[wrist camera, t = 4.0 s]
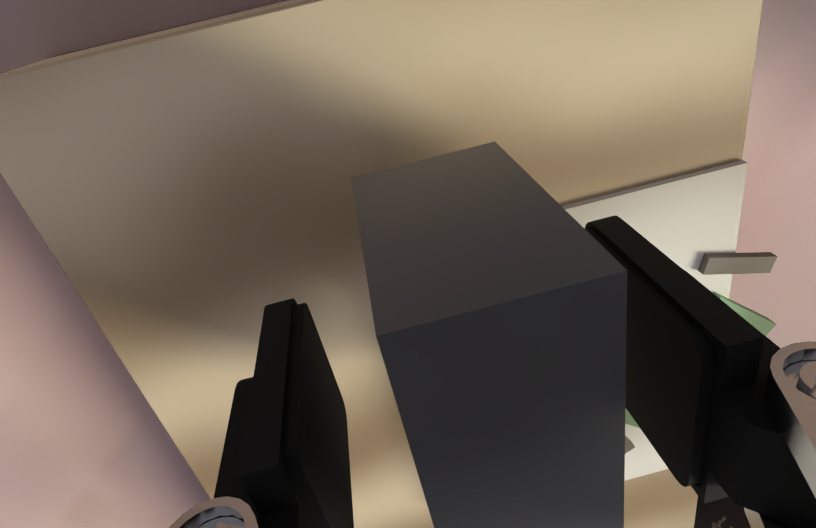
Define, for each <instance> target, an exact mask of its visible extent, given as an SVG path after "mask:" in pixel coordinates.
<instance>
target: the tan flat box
mask: <svg viewBox="0 0 816 528" xmlns="http://www.w3.org/2000/svg"><path fill="white" fill-rule="evenodd" d="M762 2H763V0H287V1H283V2H279V3H275V4H270V5H266V6H262V7H258V8H254V9H250V10H246V11H242V12H237V13H233V14H229V15H225V16H221V17H217V18H213V19H208V20H204V21H200V22H196V23H192V24H188V25H184V26H180V27H175V28H171V29H167V30H163V31H159V32H155V33H151V34H147V35H142V36H138V37H134V38H130V39H126V40H122V41H118V42H113V43H109V44H105V45H101V46H97V47H93V48H89V49H85V50H80V51H76V52H72V53H68V54H64V55H60V56H56V57H52V58H47V59H44V60H41V61H38V62H35V63H32V64H29V65H26V66H23V67H20V68H17V69H14V70H11V71H8V72H5V73H2V74H0V173H1V175H2V176H3V178H4V179H5V181H6V183H7V184H8V186H9V187H10V189H11V190H12V192H13V193H14V195H15V197H16V198H17V200H18V201H19V203H20V204H21V206H22V207H23V209H24V210H25V212H26V214H27V215H28V217H29V218H30V220H31V221H32V223H33V224H34V226H35V227H36V229H37V231H38V232H39V234H40V235H41V237H42V238H43V240H44V241H45V243H46V245H47V246H48V248H49V249H50V251H51V252H52V254H53V255H54V257H55V258H56V260H57V262H58V263H59V265H60V266H61V268H62V269H63V271H64V272H65V274H66V276H67V277H68V279H69V280H70V282H71V283H72V285H73V286H74V288H75V289H76V291H77V293H78V294H79V296H80V297H81V299H82V300H83V302H84V303H85V305H86V306H87V308H88V310H89V311H90V313H91V314H92V316H93V317H94V319H95V320H96V322H97V324H98V325H99V327H100V328H101V330H102V331H103V333H104V334H105V336H106V337H107V339H108V341H109V342H110V344H111V345H112V347H113V348H114V350H115V351H116V353H117V355H118V356H119V358H120V359H121V361H122V362H123V364H124V365H125V367H126V368H127V370H128V372H129V373H130V375H131V376H132V378H133V379H134V381H135V382H136V384H137V386H138V387H139V389H140V390H141V392H142V393H143V395H144V396H145V398H146V399H147V401H148V403H149V404H150V406H151V407H152V409H153V410H154V412H155V413H156V415H157V416H158V418H159V420H160V421H161V423H162V424H163V426H164V427H165V429H166V430H167V432H168V434H169V435H170V437H171V438H172V440H173V441H174V443H175V444H176V446H177V447H178V449H179V451H180V452H181V454H182V455H183V457H184V458H185V460H186V461H187V463H188V465H189V466H190V468H191V469H192V471H193V472H194V474H195V475H196V477H197V478H198V480H199V482H200V483H201V485H202V486H203V488H204V489H205V491H206V492H207V494H208V496H209V497H210V499H212V498H214V493H215V488H216V483H217V478H218V473H219V468H220V463H221V458H222V452H223V447H224V442H225V437H226V432H227V427H228V422H229V417H230V412H231V407H232V402H233V396H234V391H235V388H236V385H237V383H238V382H239V381H240V380H243V379H247V378H250V377H253V376H254V370H255V364H256V357H257V351H258V345H259V338H260V332H261V326H262V319H263V313H264V308H265V306H266V305H269V304H273V303H276V302H280V301H284V300H288V299H292V298H294V299H295V301H296V302H297V304H302V303H307V305H308V307H309V310H310V312H311V315H312V318H313V320H314V323H315V326H316V328H317V331H318V334H319V336H320V339H321V342H322V344H323V347H324V350H325V352H326V355H327V358H328V360H329V363H330V366H331V368H332V371H333V374H334V376H335V379H336V382H337V384H338V387H339V390H340V392H341V395H342V398H343V401H344V404H345V409H346V415H347V428H348V443H349V459H350V474H351V490H352V505H353V520H354V528H434V526H433V522H432V519H431V516H430V512H429V509H428V506H427V502H426V499H425V496H424V493H423V489H422V486H421V483H420V479H419V476H418V473H417V470H416V466H415V463H414V460H413V456H412V453H411V450H410V446H409V443H408V440H407V437H406V433H405V430H404V427H403V423H402V420H401V417H400V413H399V410H398V407H397V404H396V400H395V397H394V394H393V390H392V387H391V384H390V380H389V377H388V374H387V371H386V367H385V364H384V361H383V357H382V354H381V351H380V348H379V344H378V341H377V338H376V333H375V327H374V320H373V314H372V308H371V301H370V295H369V289H368V282H367V276H366V270H365V264H364V257H363V251H362V245H361V238H360V232H359V226H358V220H357V213H356V207H355V201H354V194H353V188H352V182H351V178H352V177H356V176H360V175H364V174H367V173H371V172H375V171H379V170H383V169H387V168H391V167H395V166H399V165H403V164H407V163H411V162H415V161H419V160H423V159H427V158H431V157H435V156H439V155H443V154H447V153H451V152H455V151H459V150H463V149H467V148H471V147H475V146H479V145H483V144H486V143H490V142H494V141H495V142H496V143H497V144H498V145H499V146H500V147H501V148H502V149H503V150H504V151H505V152H506V153H507V154H508V155H509V156H510V157H511V158H512V159H514V160H515V161H516V162H517V163H518V164H519V165H520V166H521V167H522V168H523V169H524V170H525V171H526V172H527V173H528V174H529V175H530V176H531V177H532V178H533V179H534V180H535V181H536V182H537V183H538V184H539V185H540V186H541V187H542V188H543V189H544V190H545V191H546V192H547V193H548V194H549V195H550V196H551V197H552V198H554V199H555V200H556V201H557V202H558V203H559V204H560V205H561V206H562V207H563V208H564V209H565V210H566V211H567V212H568V213H569V214H570V215H571V216H572V217H573V218H574V219H575V220H576V221H577V222H578V223H579V224H580V225H581V226H582V227H583V228H584V229H585V226H586V224H587V223H588V222H591V221H595V220H599V219H602V218H606V217H610V216H615V215H616V216H618V217H620V218H621V219H622V220H624V221H625V222H626V223H627V224H629V225H630V226H631V227H632V228H633V229H635V230H636V231H637V232H638V233H639V234H641V235H642V236H643V237H644V238H646V239H647V240H648V241H649V242H650V243H652V244H653V245H654V246H655V247H656V248H658V249H659V250H660V251H661V252H663V253H664V254H665V255H666V256H667V257H669V258H670V259H671V260H672V261H673V262H675V263H676V264H677V265H678V266H680V267H681V268H682V269H683V270H685V271H687V272H688V273H689V274H690V275H692V276H693V277H694V278H695V279H696V280H698V281H699V282H700V283H701V284H703V285H704V286H705V287H706V288H707V289H709V290H710V291H711V292H712V293H713V294H715V295H716V296H717V297H718V298H720V299H721V300H722V301H723V302H724V303H726V304H727V305H728V306H729V307H731V308H732V309H733V310H734V311H735V312H737V313H738V314H739V315H740V316H741V317H743V318H744V319H745V320H746V321H748V322H749V323H750V324H751V325H752V326H754V327H755V328H756V329H757V330H759V331H760V332H761V333H762V334H763V335H765V336H766V335H767V334H768V333H769V332H770V331H771V329H772V328H773V327H774V326H775V325H776V324H775V323H774V322H773V321H771V320H770V319H769V318H767V317H765V316H763V315H761V314H759V313H757V312H755V311H753V310H751V309H749V308H747V307H744V306H742V305H740V304H738V303H736V302H734V301H732V300H730V299H729V295H730V288H731V280H732V274H746V273H770V271H771V269H772V267H773V265H774V262H775V260H776V258H777V256H776V255H774V254H772V253H771V252H760V253H735V251H736V244H737V237H738V229H739V222H740V215H741V207H742V200H743V193H744V185H745V178H746V171H747V164H748V163H747V162H745V161H743V160H742V155H743V147H744V140H745V132H746V124H747V117H748V109H749V101H750V94H751V86H752V78H753V71H754V63H755V55H756V48H757V40H758V32H759V25H760V17H761V9H762ZM697 500H698V495H697V494H696V492H695V491H694V490H693V488H692V487H691V486H687V487H684V486H682V485H681V484H679V482H678V481H677V480H676V479H675V477H674V476H673V474H672V473H671V472H670V470H669V469H668V467H667V466H666V464H665V463H664V462H663V460H662V459H661V457H660V456H659V454H658V453H657V452H656V450H655V449H654V447H653V446H652V444H651V443H650V442H649V440H648V439H647V437H646V436H645V434H644V433H643V432H642V430H641V429H640V427H639V426H638V425H637V423H636V422H635V420H634V419H633V417H632V416H631V415H630V413H629V412H628V410H627V409H626V407H625V475H624V528H694V522H695V515H696V507H697Z"/></svg>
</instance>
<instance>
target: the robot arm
mask: <svg viewBox="0 0 816 528" xmlns="http://www.w3.org/2000/svg"><path fill="white" fill-rule="evenodd" d="M585 230H586V231H587V232H588V233H589V234H590V235H591V236H592V237H594V238H595V239H596V240H597V241H598V242H599V243H600V244H601V245H602V246H603V247H604V248H605V249H606V250H607V251H608V252H609V253H610V254H611V255H612V256H613V257H614V258H615V259H616V260H617V261H618V262H619V263H620V264H621V265H622V266H623V267H624V268H625V269H626V270H627V328H626V401H625V407H626V409H627V410H628V412H629V413H630V415H631V416H632V417H633V419H634V420H635V422H636V423H637V425H638V426H639V427H640V429H641V430H642V432H643V433H644V434H645V436H646V437H647V439H648V440H649V442H650V443H651V444H652V446H653V447H654V449H655V450H656V452H657V453H658V454H659V456H660V457H661V459H662V460H663V462H664V463H665V464H666V466H667V467H668V469H669V470H670V472H671V473H672V474H673V476H674V477H675V479H676V480H677V481H678V482H679V484H681V485H682V486H684V487H687V486H691V487H692V488H693V490H694V491H695V492H696V494H697V495H698V496H699V498H700V499H701V501H702V502H703V503H704V504H705V503H708V502H712V501H716V500H719V499H723V498H727V497H729V498H730V499H731V500H732V502H733V503H734V504H736V505H739V506H741V507H744V510H745V514H746V516H747V519H748V521H749V524H750V526H751V528H816V342H809V341H808V342H800V343H793V344H790V345H788V346H785V347H783V348H781V349H780V348H779V347H778V346H777V345H776V344H774V343H773V342H772V341H771V340H769V339H768V338H767V337H766V336H765V335H763V334H762V333H761V332H760V331H759V330H757V329H756V328H755V327H754V326H752V325H751V324H750V323H749V322H748V321H746V320H745V319H744V318H743V317H741V316H740V315H739V314H738V313H737V312H735V311H734V310H733V309H732V308H731V307H729V306H728V305H727V304H726V303H724V302H723V301H722V300H721V299H720V298H718V297H717V296H716V295H715V294H713V293H712V292H711V291H710V290H709V289H707V288H706V287H705V286H704V285H703V284H701V283H700V282H699V281H698V280H696V279H695V278H694V277H693V276H692V275H690V274H689V273H688V272H687V271H685V270H683V269H682V268H681V267H680V266H678V265H677V264H676V263H675V262H673V261H672V260H671V259H670V258H669V257H667V256H666V255H665V254H664V253H663V252H661V251H660V250H659V249H658V248H656V247H655V246H654V245H653V244H652V243H650V242H649V241H648V240H647V239H646V238H644V237H643V236H642V235H641V234H639V233H638V232H637V231H636V230H635V229H633V228H632V227H631V226H630V225H629V224H627V223H626V222H625V221H624V220H622V219H621V218H620V217H618V216H616V215H615V216H610V217H606V218H602V219H599V220H595V221H591V222H588V223H587V224H586V226H585ZM169 528H354V520H353V505H352V490H351V474H350V459H349V443H348V428H347V415H346V409H345V404H344V401H343V398H342V395H341V392H340V390H339V387H338V384H337V382H336V379H335V376H334V374H333V371H332V368H331V366H330V363H329V360H328V358H327V355H326V352H325V350H324V347H323V344H322V342H321V339H320V336H319V334H318V331H317V328H316V326H315V323H314V320H313V318H312V315H311V312H310V310H309V307H308V305H307V303H302V304H297V302H296V301H295V299H294V298H292V299H288V300H284V301H280V302H276V303H273V304H269V305H266V306H265V308H264V313H263V319H262V326H261V332H260V338H259V345H258V351H257V357H256V364H255V370H254V376H253V377H250V378H247V379H243V380H240V381H239V382H238V383H237V385H236V388H235V391H234V396H233V402H232V407H231V412H230V417H229V422H228V427H227V432H226V437H225V442H224V447H223V452H222V458H221V463H220V468H219V473H218V478H217V483H216V488H215V493H214V498H212V499H210V500H207V501H205V502H202V503H200V504H198V505H196V506H195V507H193V508H192V509H190V510H189V511H187V512H186V513H184V514H183V515H182V516H180V517H179V518H178V519H177V520H176V521H175V522H174V523H173V524H172V525H171V526H170V527H169Z"/></svg>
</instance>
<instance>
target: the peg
mask: <svg viewBox="0 0 816 528" xmlns="http://www.w3.org/2000/svg"><path fill="white" fill-rule="evenodd" d="M351 182H352V188H353V194H354V201H355V207H356V213H357V220H358V226H359V232H360V238H361V245H362V251H363V257H364V264H365V270H366V276H367V282H368V289H369V295H370V301H371V308H372V314H373V320H374V327H375V333H376V338H377V341H378V344H379V348H380V351H381V354H382V357H383V361H384V364H385V367H386V371H387V374H388V377H389V380H390V384H391V387H392V390H393V394H394V397H395V400H396V404H397V407H398V410H399V413H400V417H401V420H402V423H403V427H404V430H405V433H406V437H407V440H408V443H409V446H410V450H411V453H412V456H413V460H414V463H415V466H416V470H417V473H418V476H419V479H420V483H421V486H422V489H423V493H424V496H425V499H426V502H427V506H428V509H429V512H430V516H431V519H432V522H433V526H434V528H624V475H625V401H626V328H627V270H626V269H625V268H624V267H623V266H622V265H621V264H620V263H619V262H618V261H617V260H616V259H615V258H614V257H613V256H612V255H611V254H610V253H609V252H608V251H607V250H606V249H605V248H604V247H603V246H602V245H601V244H600V243H599V242H598V241H597V240H596V239H595V238H594V237H592V236H591V235H590V234H589V233H588V232H587V231H586V230H585V229H584V228H583V227H582V226H581V225H580V224H579V223H578V222H577V221H576V220H575V219H574V218H573V217H572V216H571V215H570V214H569V213H568V212H567V211H566V210H565V209H564V208H563V207H562V206H561V205H560V204H559V203H558V202H557V201H556V200H555V199H554V198H552V197H551V196H550V195H549V194H548V193H547V192H546V191H545V190H544V189H543V188H542V187H541V186H540V185H539V184H538V183H537V182H536V181H535V180H534V179H533V178H532V177H531V176H530V175H529V174H528V173H527V172H526V171H525V170H524V169H523V168H522V167H521V166H520V165H519V164H518V163H517V162H516V161H515V160H514V159H512V158H511V157H510V156H509V155H508V154H507V153H506V152H505V151H504V150H503V149H502V148H501V147H500V146H499V145H498V144H497V143H496V142H495V141H494V142H490V143H486V144H483V145H479V146H475V147H471V148H467V149H463V150H459V151H455V152H451V153H447V154H443V155H439V156H435V157H431V158H427V159H423V160H419V161H415V162H411V163H407V164H403V165H399V166H395V167H391V168H387V169H383V170H379V171H375V172H371V173H367V174H364V175H360V176H356V177H352V178H351Z"/></svg>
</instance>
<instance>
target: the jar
mask: <svg viewBox="0 0 816 528" xmlns="http://www.w3.org/2000/svg"><path fill="white" fill-rule="evenodd" d="M694 528H751V526H750V524H749V521H748V519H747V516H746V514H745V510H744V507H741V506H739V505H736V504H734V503H733V502H732V500H731V499H730V498H729V497H727V498H723V499H719V500H716V501H712V502H708V503H705V504H704V503H703V502H702V501H701V499H700V498H699V496H698V500H697V507H696V515H695V522H694Z"/></svg>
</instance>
